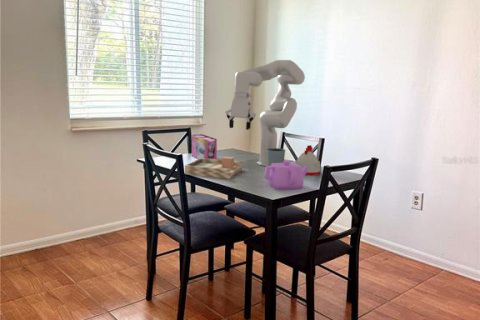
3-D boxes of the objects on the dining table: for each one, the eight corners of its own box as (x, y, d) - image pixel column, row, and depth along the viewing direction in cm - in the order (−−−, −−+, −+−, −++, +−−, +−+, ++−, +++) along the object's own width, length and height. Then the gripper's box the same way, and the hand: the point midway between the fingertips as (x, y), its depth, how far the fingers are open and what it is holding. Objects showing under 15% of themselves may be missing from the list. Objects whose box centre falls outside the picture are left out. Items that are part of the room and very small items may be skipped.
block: (233, 166, 228) (234, 157, 227) (230, 168, 224) (231, 158, 223) (224, 165, 230) (225, 156, 229) (221, 167, 225) (222, 158, 224)
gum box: (217, 162, 252) (218, 139, 249) (205, 163, 248) (206, 140, 246) (202, 155, 273) (203, 134, 270) (191, 155, 269) (191, 134, 267)
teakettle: (261, 187, 197) (262, 161, 194) (275, 180, 212) (277, 156, 209) (296, 193, 189) (297, 166, 187) (308, 185, 204) (310, 160, 202)
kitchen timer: (323, 172, 233) (325, 145, 230) (313, 176, 222) (315, 148, 219) (301, 168, 241) (302, 142, 238) (289, 172, 230) (291, 145, 227)
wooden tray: (241, 170, 232) (242, 162, 231) (229, 178, 211) (229, 169, 210) (201, 166, 238) (201, 158, 238) (184, 174, 218) (184, 165, 217)
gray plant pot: (283, 173, 227) (284, 151, 224) (264, 172, 229) (265, 150, 226) (284, 169, 236) (286, 148, 234) (266, 168, 238) (267, 147, 236)
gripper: (259, 97, 221) (257, 129, 224) (229, 95, 229) (228, 126, 232) (253, 96, 215) (251, 130, 218) (223, 95, 222) (221, 127, 225)
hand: (239, 128), depth 225 cm, fingers open, 9 cm apart
